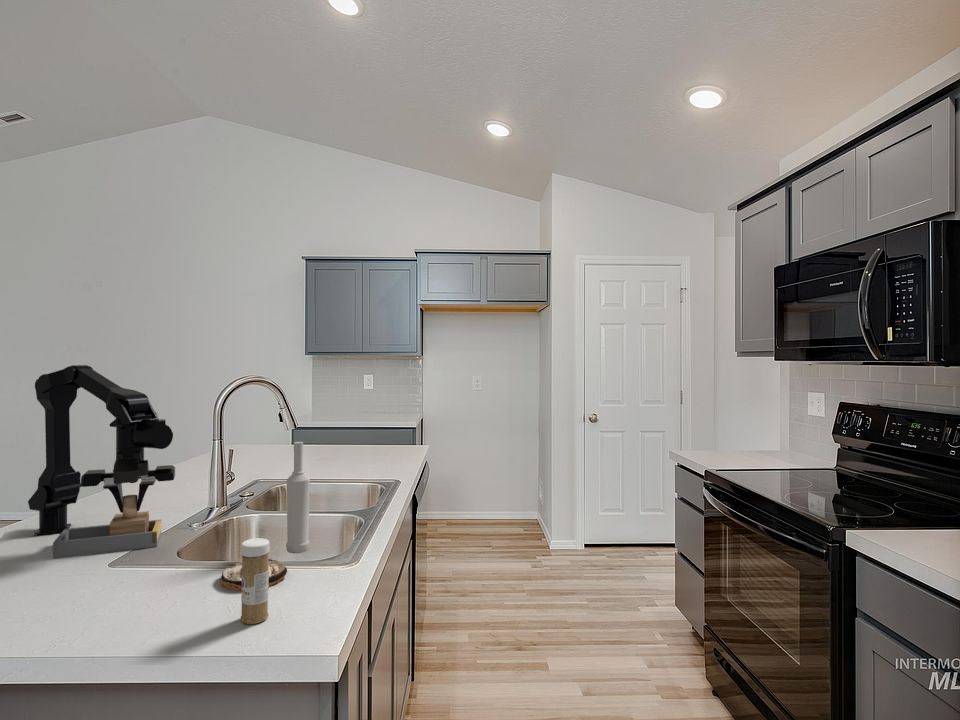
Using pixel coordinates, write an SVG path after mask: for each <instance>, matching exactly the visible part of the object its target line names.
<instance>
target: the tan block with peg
mask: <svg viewBox="0 0 960 720" xmlns="http://www.w3.org/2000/svg"><path fill="white" fill-rule="evenodd" d="M137 501H138V495H137V494H126V495H123V513H116V514H114V516H113V518H112V519H111V521H110V523H109V524H110V536H111V535H121V534H131V533H140V532H149V521H150V520H149V519H150V511H137Z"/></svg>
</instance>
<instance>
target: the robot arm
mask: <svg viewBox="0 0 960 720" xmlns="http://www.w3.org/2000/svg"><path fill="white" fill-rule="evenodd" d="M81 388H82V389H83V390H85V391H86V392H87V393H89V394H91V395H93V396H95V397H96V398H98V399H99V400H100V401H102V402H103V403H104V404H105V409H106V411H108V412H109V413H110V415H112V416H113V417H114V418H115V419H114V420H112V422H110V423H109V427H111V428H115V430H116V431H115V433H116V434H115V461H114V463H113V468H112V472H106V469H90V470H89V469H88V470H87V471H85V473H83V475H81V472H80V471H79V470H78V471H76V470H75V469H74V468H73V466H72V465H71V463H72V462H71V434H70V433H71V427H70V426H71V424H70V408H71V407H72V405H73V404H74V402H75V401H76V399H77V397H78V390H79V389H81ZM34 389H35V395H36V400H37V401H38V403H39V404H40V405H41V406H42V408H43V410H44V421H45V422H44V423H45V424H44V425H45V428H44V429H45V432H44V433H45V468H44V470H43V471H42V473H41V475H40V476H39V478H38V481H37V489H36V490H35V492H34V493H33V494H32V495H31V497H30V498H29V499H28V501H27V502H28V503H27V504H28V507H29V510H32V511H38V521H39V522H38V529H36V531H34V536H40V535H49V534H61V533H62V532H63V531H64V529H68V528H71V527H72V523H68V505H72V504H76V503H77V502H78V496H79V493H80V490H81V487H83V488H86V487H88V488H89V487H97V486H98V485H99V484H100V483H102V482H103V486H102V489H104V490H109V492H110V493H111V494H112V496H113V498H114V500H115V502H116V505H117V507H118V510H119V512H120V514H123V496H124V495H123V485H122V484H126V483H127V484H129V483H130V484H135V483H137V482H139V480H140V483H139V486H138V487H139V488H138V495H137V512H140V510H141V507H142V503H143V501H144V498H145V495H146V492H147V490H148V488H149V486H153V485H155V483H156V482H169V481H174V480H175V477H176V467H175V466H174V465H173V464H171V465H170V464H169V465H157V466H156V467H155V469H150V468H149V459H145V449H155V450H156V449H157V450H164V449H167V448H168V447H169V446H170V445H171V444H172V442H173V439H174V432H173V430H172V429H171V427H170V426H169V425H167V424H166V423H167V422H166V419H165V418H164V419H163V418H161V419H159V416H158V413H157V412H156V410H155V409H154V407H153V406H152V404H151V402H150V400H149V397H148V396H147V394H145V393H143V392H141V391H138V390H135V389H130V388H125V387H122V386H120V385H118V384H116V383H115V382H114V381H112V380H110V379H109V378H106V376H104V375H102V374H100V373H99V372H98V371H96V370H94V368H93V367H92V366H89V365H87V364H82V365H81V364H78V365H77V364H76V365H75V364H74V365H70V366H66V367H64V368H63V369H59V370H55V371H53V372H49V373H44V374H41V375H39V377H38V378H37V379H36V380H35V382H34Z"/></svg>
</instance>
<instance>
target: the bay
mask: <svg viewBox="0 0 960 720" xmlns="http://www.w3.org/2000/svg"><path fill="white" fill-rule="evenodd" d="M161 535H162V519H154V520H152V519H151V520H149V532H140V533H131V534H121V535H111V536H110V523H109V524H102V525H101V524H99V525H92V526H91V525H90V526H79V527H70V528H68V529H64V531H63V532H61V533H59V535H58V537H56V539H55V540H54V541H53V542H52V559H61V558H70V557H80V556H89V555H96V554H104V553H106V554H107V553H113V552H114V553H115V552H122V551H131V550H132V551H133V550H139V549H140V550H141V549H142V550H143V549H151V548H157V547H158V543H159V542H160V538H161Z"/></svg>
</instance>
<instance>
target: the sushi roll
mask: <svg viewBox="0 0 960 720" xmlns="http://www.w3.org/2000/svg"><path fill="white" fill-rule="evenodd" d="M268 569H269V583H268V588H270V587H274V586H277V585H278V584H279V583H281V582H283V581H285V577H286V575H287V573H288V568H287V567H286V566H285V564H283V563H282V562H280V561H278V560H276V559H272V558H268ZM220 580H221V587H222V588H226V589H230V590H233V591H242V561H239V562H236V563H234V565H232V566H227V567H224V570H223V571H222V572H221V576H220Z"/></svg>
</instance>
